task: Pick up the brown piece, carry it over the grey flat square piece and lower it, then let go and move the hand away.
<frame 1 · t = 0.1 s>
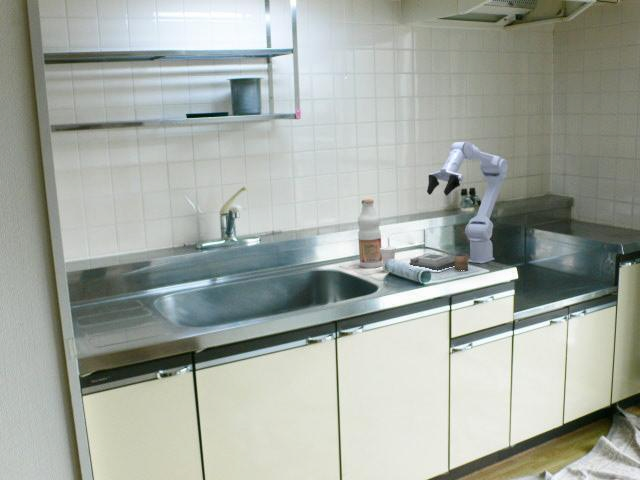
hand: (436, 193, 259), 32 cm above the counter, tool tilted 50°, fingers open, 7 cm apart
brown piece: (461, 269, 272), on the counter
fruit juice: (371, 266, 290), on the counter
smoothie: (389, 271, 278), on the counter
grey flat square piece: (433, 267, 279), on the counter
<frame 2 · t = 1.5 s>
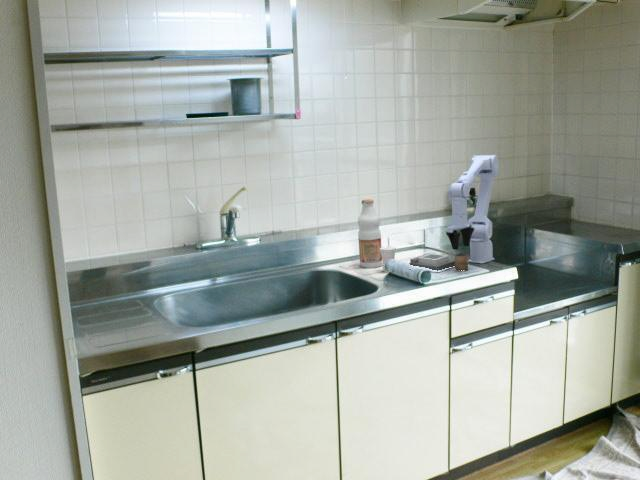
hand: (460, 247, 270), 9 cm above the counter, tool pointing down, fingers open, 7 cm apart
nothing on the counter moved.
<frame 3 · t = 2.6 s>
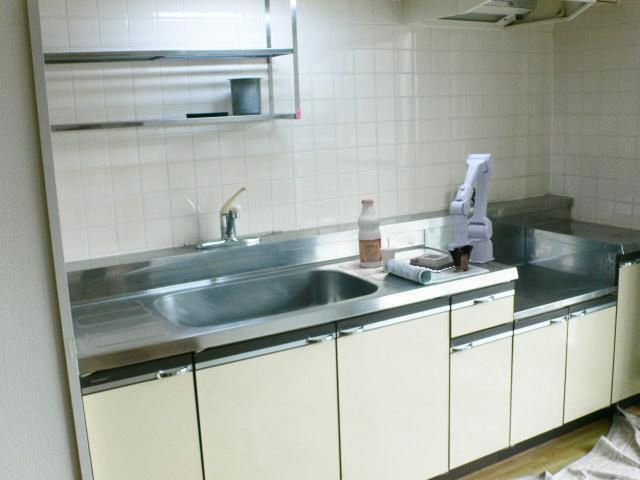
hand: (461, 265, 271), 2 cm above the counter, tool pointing down, fingers closed on brown piece, 5 cm apart
brown piece: (461, 269, 272), on the counter, touching gripper
everything else where it was.
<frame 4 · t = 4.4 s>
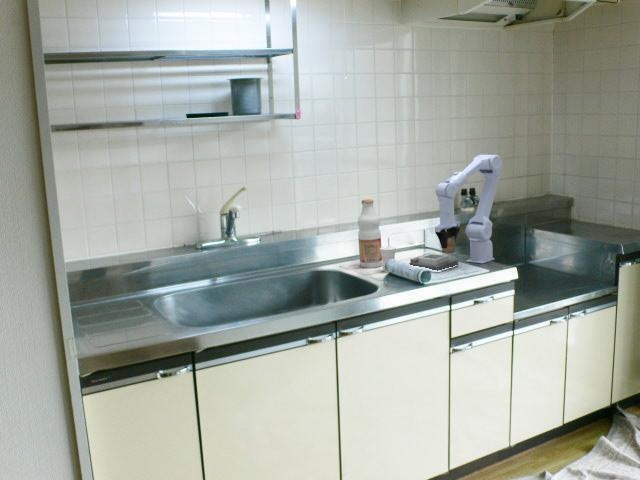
hand: (448, 246, 273), 9 cm above the counter, tool pointing down, fingers closed on brown piece, 5 cm apart
brown piece: (448, 251, 273), point 7 cm above the counter, touching gripper
everything else where it was.
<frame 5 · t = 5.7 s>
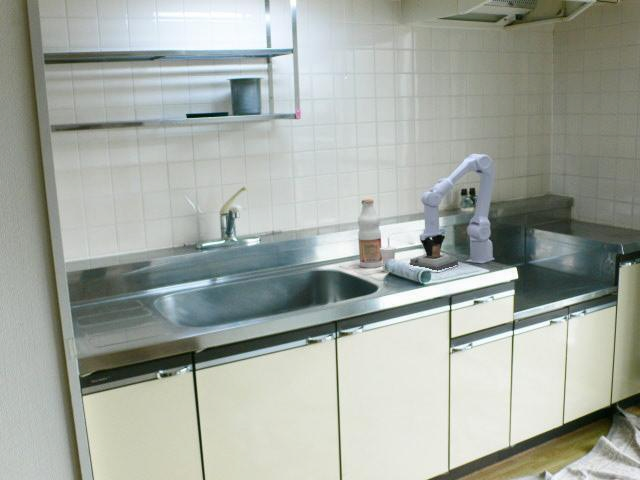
hand: (433, 254, 278), 5 cm above the counter, tool pointing down, fingers closed on brown piece, 5 cm apart
brown piece: (433, 259, 278), point 3 cm above the counter, touching gripper
everything else where it was.
when the fingers open (5 cm above the counter, at t = 6.5 s): brown piece stays where it is, resting on grey flat square piece.
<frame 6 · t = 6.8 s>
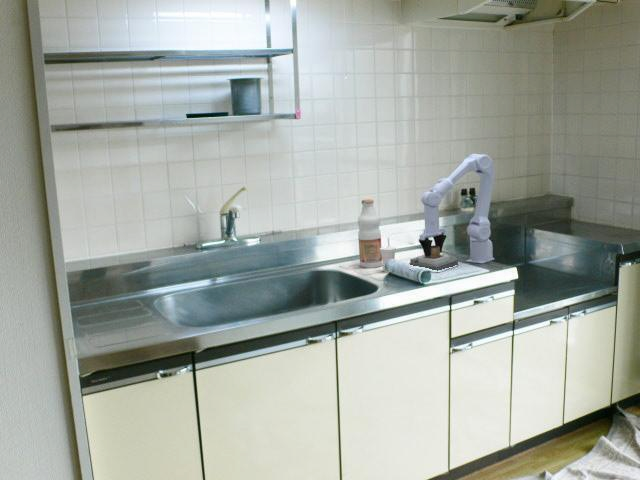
hand: (433, 254, 278), 5 cm above the counter, tool pointing down, fingers open, 7 cm apart
brown piece: (434, 261, 278), point 3 cm above the counter, touching grey flat square piece
everything else where it was.
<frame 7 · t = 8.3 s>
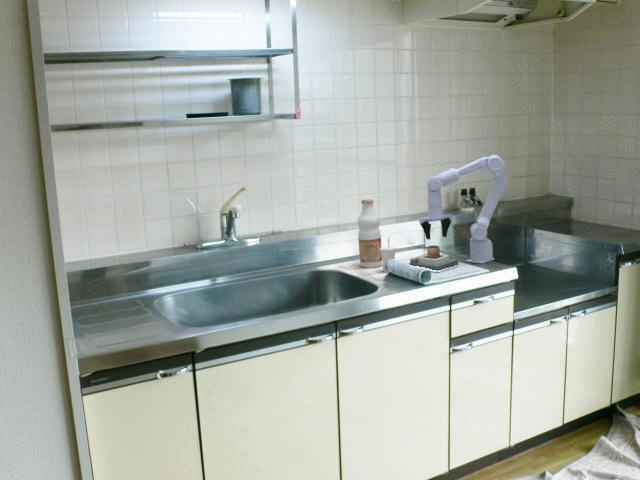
hand: (436, 238, 285), 10 cm above the counter, tool pointing down, fingers open, 7 cm apart
nothing on the counter moved.
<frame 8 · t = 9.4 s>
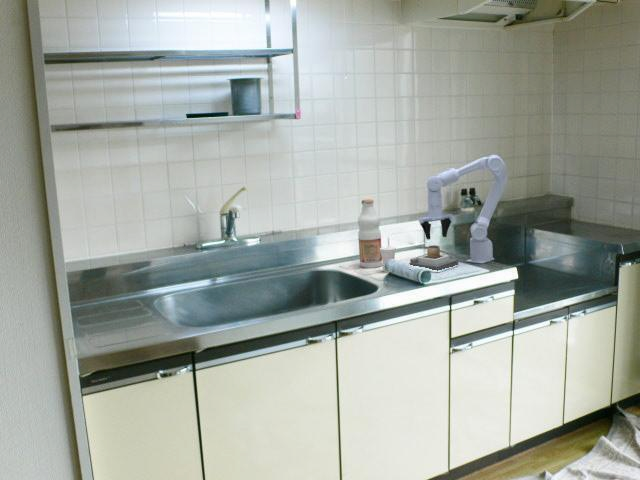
hand: (436, 238, 285), 10 cm above the counter, tool pointing down, fingers open, 7 cm apart
nothing on the counter moved.
at the end: brown piece 0.2 cm off-centre on the grey flat square piece, point 2.5 cm above the grey flat square piece's base; brown piece tilted 0°; the gripper is holding nothing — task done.
